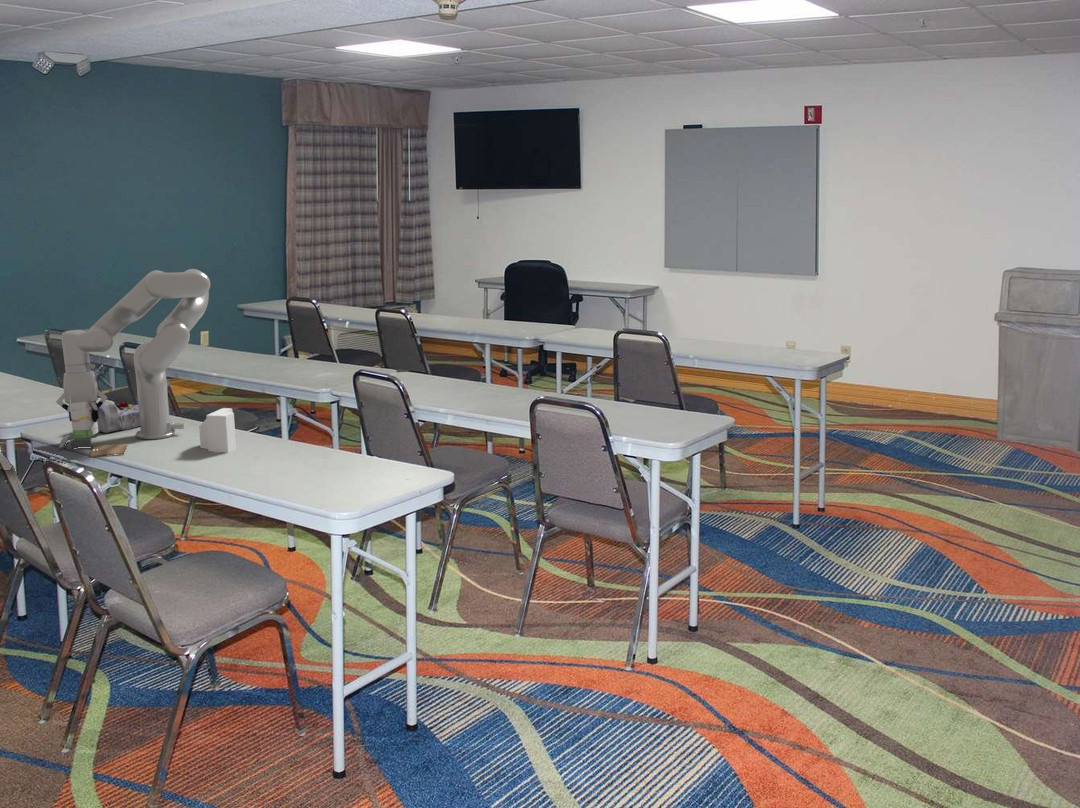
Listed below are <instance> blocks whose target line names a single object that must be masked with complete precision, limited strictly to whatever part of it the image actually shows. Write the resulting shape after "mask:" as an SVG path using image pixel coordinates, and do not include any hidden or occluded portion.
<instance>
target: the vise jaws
mask: <svg viewBox="0 0 1080 808" xmlns="http://www.w3.org/2000/svg"><path fill="white" fill-rule="evenodd" d="M91 437H94V438H97V437H98V433H96V434H94V435H93V436H91ZM69 438H70V439H69ZM68 439H69V441H68ZM67 441H68V442H69V443H70V450H71V451H72V450H73V449H74V448H78V447H91V446H92V438H79V439H74V438H71V434H66V435H65V436H64V438H63V439H62V441H61V443H60V444H59V446H58V448H57V449H58V451H64V450H65V447H66V446H65V444H66V442H67ZM68 442H67V443H68ZM66 445H67V444H66ZM92 447H93V446H92ZM92 447H91V448H92ZM74 450H75V449H74Z"/></svg>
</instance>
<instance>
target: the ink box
mask: <svg viewBox="0 0 1080 808" xmlns="http://www.w3.org/2000/svg"><path fill="white" fill-rule="evenodd" d="M69 402H70V412H71V421H70V422H71V429H72V435H73V436H72V437H73V439H81V438H89V437H91V436H93V435H94V434H96V433H97V434H98V433H99V431H98V424H97V422H94V419H93V407H92V405H91V403H88V402H77V403H71V394H69Z"/></svg>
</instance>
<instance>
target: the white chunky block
mask: <svg viewBox="0 0 1080 808" xmlns="http://www.w3.org/2000/svg"><path fill="white" fill-rule="evenodd" d="M205 416H206V418H205V420H203V422H202V423H201V424H200V425H199V426H198V428H199V441H200V442H199V443H200V449H201V448H205V449H206V450H208V452H209V451H214V452H213V453H220V452H226V453H225V454H229V453H231V452H233V451H235V450H236V449H237V443H236V442H237V440H236V429H235V428H236V427H235V426H236V425H235V412H233V408H230V407H228V408H227V407H222V408H220V409H217V410H216V411H212V412H211V413H209V414H206V415H205ZM205 449H204V450H205ZM228 452H229V453H228Z"/></svg>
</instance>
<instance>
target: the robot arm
mask: <svg viewBox="0 0 1080 808" xmlns="http://www.w3.org/2000/svg"><path fill="white" fill-rule="evenodd" d="M210 288H211V280H210V278H209V276H208V275H207V274H205V273H204V272H202V271H201V270H199V269H196V268H189V269H187V270H185V271H182V272H180V271H179V272H175V271H174V272H165V271H162V270H159V269H158V270H157V269H155V270H151V271H150V272H149V273H147V274H146V275H145V276H144V277H143V278H142V279H141V280H140V281H139V282H138V283H137V284H136V285H135V286H134V287H133V288H132V289H131V290H129V292H127V293H126V294H125V295H124V296H123V297H122V298H121V299H119V301H117V303H115V304H114V305H113V306H112V307H111V308H110V309H109V310H108V311H106V312H105V313H104V314H103V315H102V316H101V317H100V318H99V319H97V321H96V322H95V323H93V324H92V326H91V327H89V329H88V331H84V330H82V329H73V330H71V329H70V330H66V331H63V332H62V334H61V336H60V337H61V344H62V352H63V360H64V368H65V372H64V373H63V393H62V394H61V395H60V397H58V399H57V400H56V404H57V405H59V406H60V407H61V408H62V409H64V410H65V411H67V413H68V418H69V422H72V421H71V412H70V402H69V394H71V403H77V402H88V403H91V405H92V407H93V419H94V422H97V419H99V414H98V408H99V407H100V406H101V405H102V404H103V403H104V402H106V401H108V400H107V399H108V396H107V395H105V394H104V393H103V392H102V391H100V390H99V388H98V381H97V377H96V374H95V371H94V370H92V369H95V368H96V364H95V363H91V361H90V353H105V352H108V351H109V350H110V349H111V348H112V346H113V344H114V338H115V337H116V336H117V335H118V334H119V333H120V332H121V331H122V330H123V329H125V328H126V327H127V326H128V325H130V324H132V323H134V322H137V321H139V320H140V319H142V318H143V317H144V316H145V315H146V314H147V313H148V312H149V311H150V310H151V309H152V308H153V307H154V306H155V305H157V303H158V302H159V301H160V300H162V299H180V300H179V302H178V303H177V305H176V306H175V307H174V309H173V310H171V312H170V313H168V315H167V316H166V317H165V318H164V319H163V320H162V321H161V322H160V323H159V325H158V326H157V328H156V335H155V336H154V337H153V338H152V340H151V341H149V342H147V341H146V342H143V343H141V344H140V345H138V346H137V347H136V348H135V350H134V353H133V365H134V373H135V381H136V382H135V383H136V391H137V392H136V393H137V403H138V404H137V405H138V406H139V418H140V426H139V427H140V430H138V431H137V432H136V433H135V437H136V438H137V439H142V440H157V439H158V440H159V439H166V438H170V437H172V436H175V435H176V430H184V429H185V423H183V422H182V423H181V422H172V419H170V407H169V396H168V395H169V394H168V382H167V381H168V380H167V373H166V371H167V369H168V368H169V367H170V366H171V364H172V363H174V361H175V360H176V359H177V358H178V357H179V356H180V354H182V352H183V351H184V350H185V349H186V347H187V346H188V344H189V341H190V337H191V334H190V332H191V331H192V329H193V328H194V327H195V326H196V324H198V322H199V320H201V318H202V317H203V315H204V314H205V312H206V310H207V307H208V304H209V298H210V295H209V294H210V293H209V290H210ZM99 398H100V400H98V399H99ZM63 400H64V401H63ZM97 402H98V403H97Z"/></svg>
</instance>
